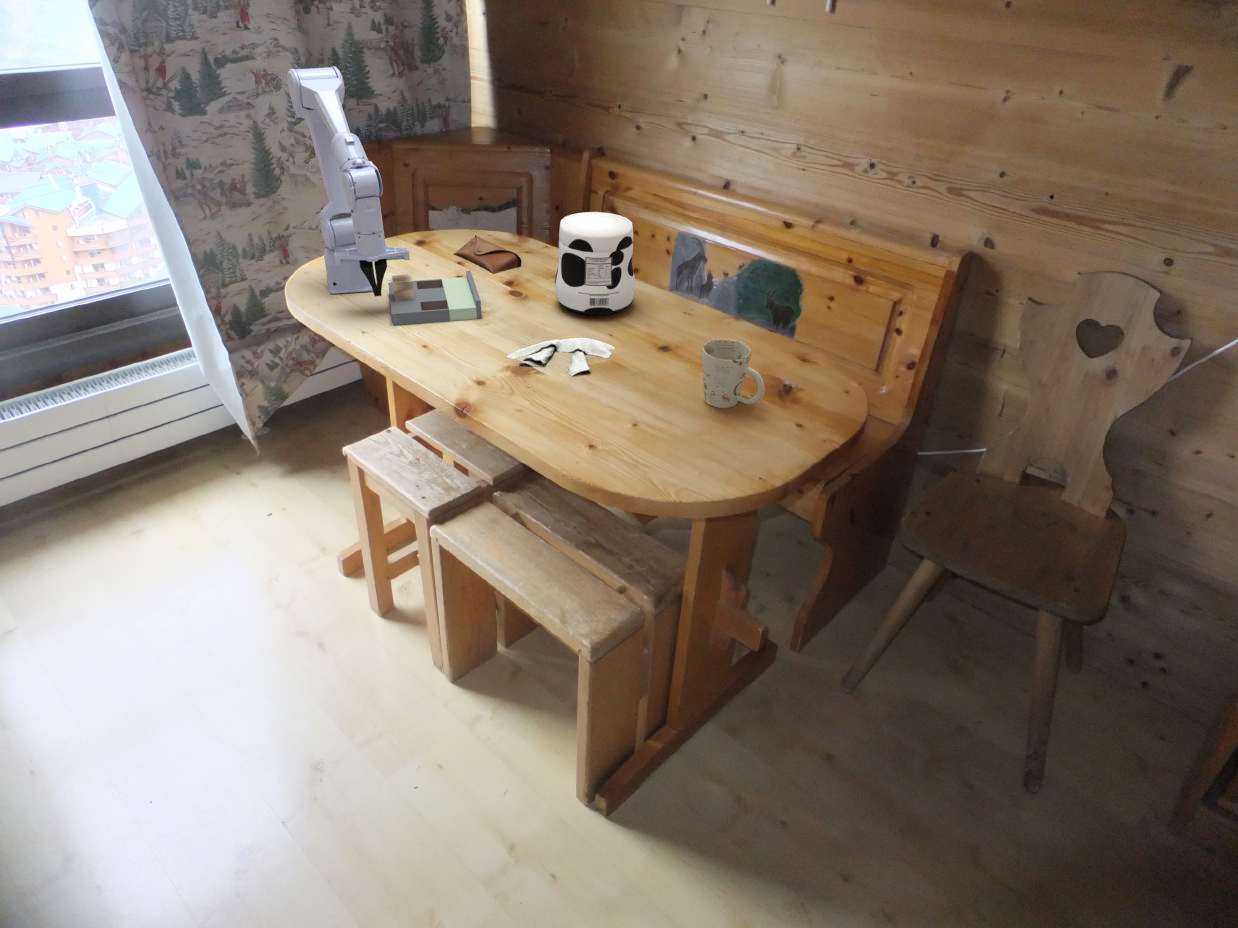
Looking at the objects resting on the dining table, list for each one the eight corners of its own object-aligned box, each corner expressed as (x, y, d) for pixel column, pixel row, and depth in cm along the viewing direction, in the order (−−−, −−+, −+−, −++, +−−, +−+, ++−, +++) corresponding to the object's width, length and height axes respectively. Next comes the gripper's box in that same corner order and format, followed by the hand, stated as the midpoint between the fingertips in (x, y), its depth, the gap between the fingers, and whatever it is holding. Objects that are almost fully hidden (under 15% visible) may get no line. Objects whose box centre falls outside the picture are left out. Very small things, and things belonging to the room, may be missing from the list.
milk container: (596, 283, 186) (597, 205, 176) (650, 306, 177) (655, 225, 166) (538, 303, 176) (537, 221, 166) (593, 328, 166) (594, 243, 156)
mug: (714, 384, 148) (720, 334, 143) (773, 407, 142) (782, 356, 136) (688, 400, 143) (693, 349, 137) (748, 425, 136) (756, 373, 131)
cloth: (625, 346, 161) (626, 335, 160) (593, 397, 144) (593, 385, 142) (529, 331, 165) (529, 320, 164) (487, 379, 148) (486, 368, 147)
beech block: (395, 301, 168) (392, 282, 166) (394, 293, 171) (391, 275, 169) (414, 299, 169) (412, 281, 167) (413, 292, 172) (411, 274, 170)
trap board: (393, 325, 164) (390, 307, 162) (389, 293, 177) (387, 276, 175) (481, 318, 168) (480, 300, 166) (471, 287, 182) (470, 270, 180)
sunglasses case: (449, 253, 199) (459, 227, 198) (470, 262, 205) (480, 237, 203) (494, 274, 189) (505, 247, 187) (515, 283, 194) (525, 257, 193)
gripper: (330, 238, 156) (341, 304, 163) (407, 234, 159) (414, 299, 167) (330, 227, 161) (341, 291, 169) (405, 223, 165) (412, 286, 172)
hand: (377, 294), depth 168 cm, fingers closed
